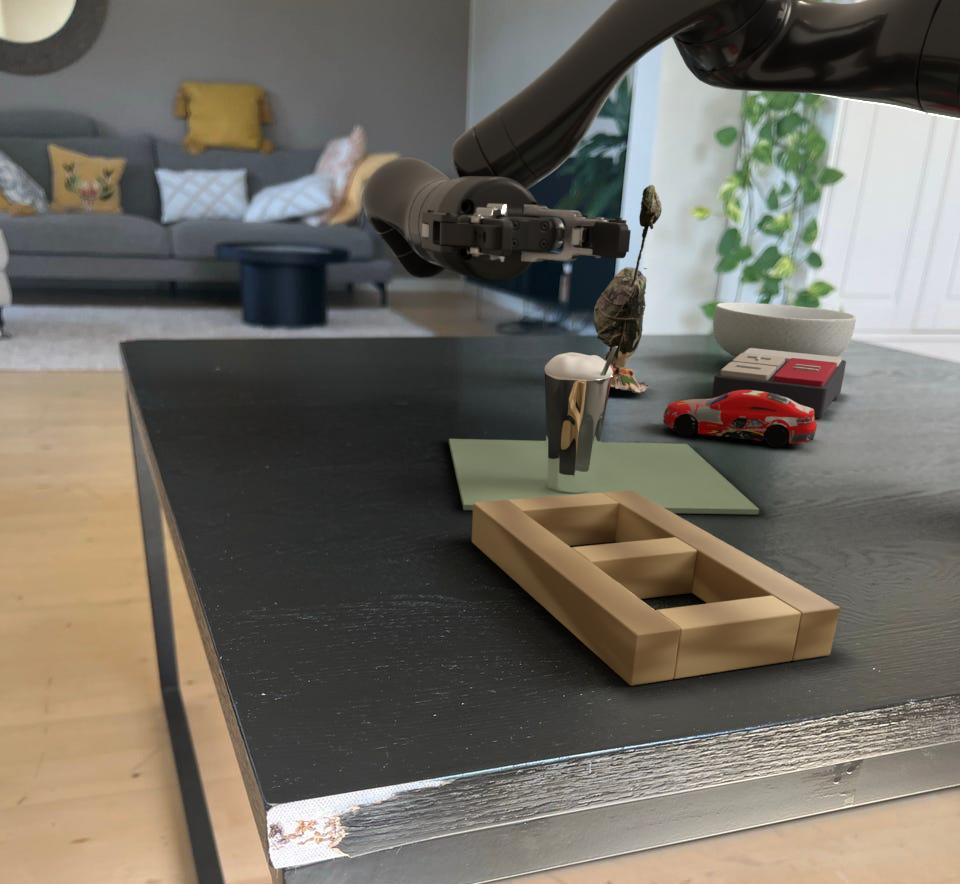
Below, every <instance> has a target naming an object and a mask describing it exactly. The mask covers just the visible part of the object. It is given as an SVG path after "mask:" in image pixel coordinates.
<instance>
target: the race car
mask: <svg viewBox="0 0 960 884" xmlns="http://www.w3.org/2000/svg"><path fill="white" fill-rule="evenodd" d="M662 418H663V420H662V422H663V424H664V425H665V426H666V427H668V428H669V429H675V431H676V433H677V434H678V435H679V436H681V437H683V438H688V437H691V436H693V435H694V434H695V433H696V431H697V434H700V435H709V436H715V437H716V436H717V437H723V438H725V437H726V438H732V439H733V438H734V439H741V440H748V441H749V440H751V441H758V442H759V441H760V442H763V441H764V440H765V442H766V443H767V445H768V446H770V447H772V448H775V449H777V448H781V447H783V446H784V445H786V443H787V442H788V444H789V445H790V444H791V445H792V444H802V443H809V442H810V441H814V438H815V437H816V431H817V428H818V427H817V426H818V423H817V422H816V421H815V418H814V409H812V408H809V407H806V406H803V405H800V404H798V403H796V402H794V401H793V400H791V399H789V398H787V397H784V396H780V395H777V394H773V393H769V392H763V391H755V390H737V391H732V392H729V393H726V394H724V395H721V396H718V397H715V398H712V397H711V398H689V399H682V400H678V401H673V402H671V403H669V404H668V405H667V407H666V409H665V410H664V412H663V416H662Z"/></svg>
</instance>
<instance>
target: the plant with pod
mask: <svg viewBox="0 0 960 884" xmlns="http://www.w3.org/2000/svg"><path fill="white" fill-rule="evenodd" d="M662 210H663V209H662V203H661V200H660V196H659V195H658V192H657V191H656V187H655V186H654V185H653V184H649V185H648V186H646V187H645V188H644V189H643V191H642V197H641V201H640V211H639V216H638V217H639V218H638V220H639V225H640V227H642V228H643V229H642V233H641V238H642V240H641V245H640V250H639V253H638V255H637V261H636V266H635V267H632V266H629V267H627V266H625V267H624V268H621V270H619V271H618V273H617V274H616V275H614V276H613V277H612V278H611V279H612V280H611V281H610V282H609V284H608V285H607V286H606V288H605V289H604V291H603V292H602V293H601V294H600V296H599V298H598V299H597V301H596V303H595V306H594V307H593V309H594V311H593V317H592V318H593V320H592V321H593V325H594V328H595V332H596V333H597V339H598V340H600V341H601V342H602V343H603V344H604V345H605V346H607V347H609V349H608V351H607V352H606V354H605V357H604V360H605V361H607V359H608V357H609V354H610V352H611V350H612V348H613V347H617V350H616V352H615V354H614V357H613V359H612V361H611V364H610V367H611V368H612V371H613V375H612V380H611V385H610V388H615V389H616V390H618V389H620V390H621V391H627V392H628V391H630V392H632V393H634V394H642V393H646V392H647V389H648V388H649V384H647V383H646V382H644V381H643V382H642V381H641V382H640V381H639V379H636V376H635V373H634V370H633V368H630V367H627V366H626V365H627V363H628V361H629V360H630V358H631V357H632V356H633V354H635V352H636V350H637V349H638V347H639V344H640V342H641V338H642V335H643V324H644V315H645V310H646V305H647V304H646V297H645V295H646V293H647V292H646V289H647V277H646V275H644V274H643V273H642V271H641V270H639V267H640V262H641V259H642V252H643V250H644V248H645V241H646V238H647V235H648V231H649V229H650V230H653V229H654V225H655V224H656V223H657V221H658V220H659V219H660V217H661V216H662ZM643 269H644V270H648V268H646V267H643Z"/></svg>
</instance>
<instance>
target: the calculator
mask: <svg viewBox="0 0 960 884" xmlns="http://www.w3.org/2000/svg"><path fill="white" fill-rule="evenodd" d="M846 365H847V361H846V360H845V359H843V358H842V357H841V356H838V357H833V356H824V355H814V354H804V353H794V352H785V351H775V350H765V349H756V348H749V349H747V350H746V351H744V352H743V353H741V354H740V355H738V356H737V357H734V358H733V359H732V361H730V362H728V363H727V364H726V365H725V366H724V367H723V368H721V370H720V371H719V372H718V373H716V374H715V375H714V377H713V384H712V392H711V393H712V394H711V399H712V398H715V397H718V396H721V395H724V394H726V393H729V392H732V391H737V390H755V391H763V392H769V393H773V394H777V395H780V396H784V397H787V398H789V399H791V400H793V401H794V402H796V403H798V404H800V405H803V406H806V407H809V408H812V409H814V419H821V418H823V416H824V415H825V414H826V411H828V409H829V407H830V406H831V404H832V402H833V401H836V400H837V399H838V397H839V395H840V394H841V391H842V386H843V383H844V376H845V371H846Z"/></svg>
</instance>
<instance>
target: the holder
mask: <svg viewBox="0 0 960 884" xmlns="http://www.w3.org/2000/svg"><path fill="white" fill-rule="evenodd" d="M471 525H472V526H471V543H472V544H473V545H474V546H476V547H477V549H479V550H480V551H481V552H482V553H483V554H484V555H485V556H486V557H488V558H489V559H490V560H491V561H492V562H493V563H494V564H495V565H496V566H497V567H498V568H500V570H502V571H503V572H504V573H505V574H506V575H507V576H508V577H510V578H511V579H512V580H513V581H514V582H515V583H516V584H517V585H519V587H521V589H523V590H524V591H525V592H526V593H527V594H528V595H529V596H531V597H532V598H533V599H534V600H535V601H536V602H537V603H538V604H540V605H541V607H543V608H544V609H545V610H546V611H547V612H548V613H549V614H550V615H551V616H553V618H555V619H556V620H557V621H558V622H559V623H560V624H562V625H563V627H565V628H566V629H567V630H568V631H569V632H570V633H571V634H573V635H574V636H575V637H576V638H577V639H578V640H579V641H580V642H581V643H582V644H583V645H584V646H586V647H587V648H588V649H589V650H590V651H591V652H592V653H594V654H595V656H597V657H598V658H599V659H600V660H601V661H602V662H603V663H604V664H606V665H607V666H608V667H609V668H610V669H611V670H612V671H613V672H614V673H616V674H617V675H618V676H619V677H620V678H621V679H622V680H623V681H624V682H625V683H627V684H628V686H631V687H633V686H641V685H646V684H653V683H658V682H659V683H660V682H665V681H673V680H679V679H685V678H691V677H697V676H698V677H699V676H702V675H710V674H711V675H712V674H716V673H724V672H729V671H735V670H736V671H737V670H741V669H742V670H743V669H750V668H755V667H762V666H769V665H775V664H782V663H789V662H791V661H793V662H794V661H801V660H808V659H814V658H821V657H827V656H830V655H831V652H832V647H833V642H834V638H835V633H836V628H837V623H838V619H839V614H840V609H841V608H840V606H838V605H837V604H835V603H833V602H831V601H829V600H828V599H826V598H824V597H823V596H820V595H818V594H817V593H815V592H813V590H810V589H808V588H806V587H804V586H803V585H801V584H799V583H797V582H796V581H794V580H792V579H790V578H789V577H787V576H785V575H783V574H781V573H780V572H778V571H776V570H775V569H773V568H771V567H769V566H767V565H765V563H763V562H760V561H759V560H757V559H756V558H753V557H752V556H750V555H748V554H746V553H745V552H743V551H741V550H740V549H737V548H736V547H734V546H732V545H730V544H728V543H727V542H725V541H723V540H721V539H719V538H718V537H716V536H714V535H713V534H711V533H709V532H708V531H706V530H704V529H702V528H701V527H699V526H697V525H695V524H693V523H692V522H689V521H688V520H686V519H684V518H682V517H681V516H679V515H677V513H672V512H670V511H668V510H667V509H665V508H663V507H661V506H660V505H658V504H656V503H654V502H653V501H651V500H649V499H647V498H645V497H644V496H642V495H640V494H638V493H637V492H635V491H633V490H632V491H618V492H605V493H590V494H577V495H564V496H550V497H537V498H524V499H511V500H499V501H486V502H474V503H473V510H472V523H471ZM689 594H692V595H694V596H695V597H697V598H698V599H700V600H701V601H703V602H704V603H701V604H692V605H683V606H676V607H669V608H661V609H660V608H659V609H656V610H655V609H654V608H653V607H651V606H650V605H649V604H647V602H644V601H643V600H646V599H653V598H662V597H671V596H679V595H689Z"/></svg>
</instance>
